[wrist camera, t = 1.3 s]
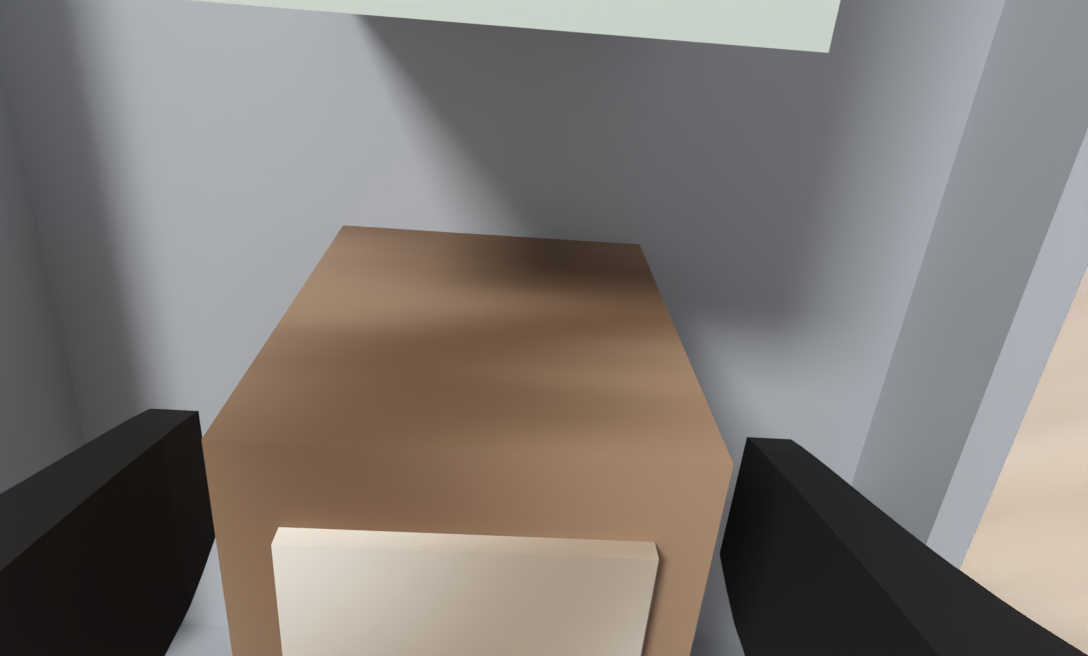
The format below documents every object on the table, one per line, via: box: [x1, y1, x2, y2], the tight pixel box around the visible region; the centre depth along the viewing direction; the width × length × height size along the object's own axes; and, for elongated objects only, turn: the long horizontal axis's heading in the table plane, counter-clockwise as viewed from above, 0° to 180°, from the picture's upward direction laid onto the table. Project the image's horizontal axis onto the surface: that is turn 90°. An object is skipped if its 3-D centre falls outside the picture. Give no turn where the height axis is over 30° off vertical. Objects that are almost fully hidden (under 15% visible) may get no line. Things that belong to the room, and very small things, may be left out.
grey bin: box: [0, 0, 1088, 656], centre depth 9 cm, size 13×19×2 cm
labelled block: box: [201, 225, 734, 656], centre depth 9 cm, size 4×6×5 cm, turn 176°
